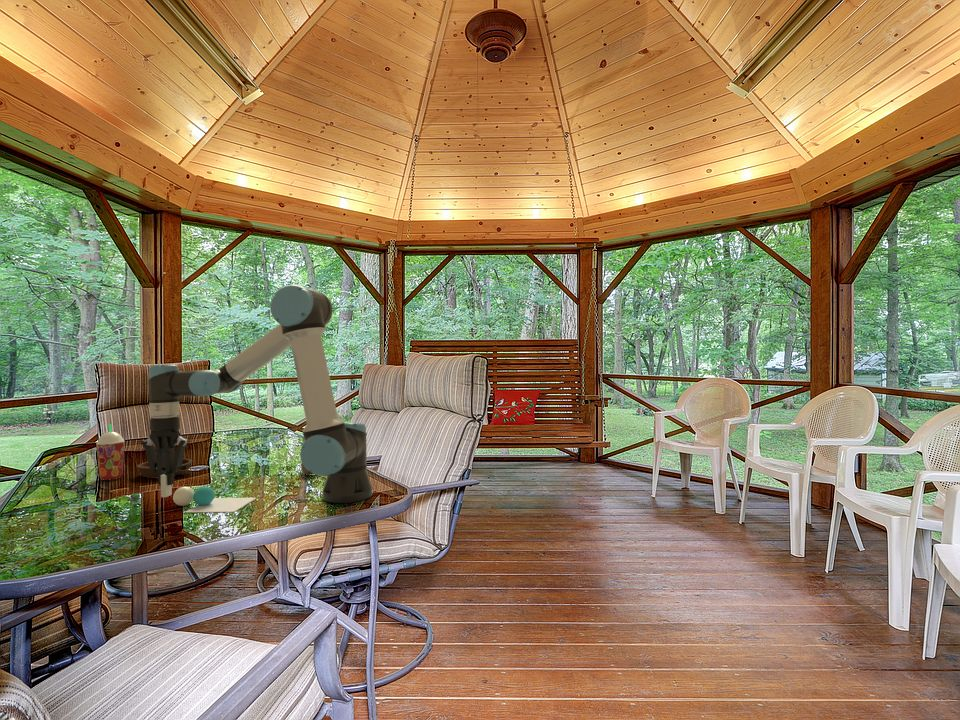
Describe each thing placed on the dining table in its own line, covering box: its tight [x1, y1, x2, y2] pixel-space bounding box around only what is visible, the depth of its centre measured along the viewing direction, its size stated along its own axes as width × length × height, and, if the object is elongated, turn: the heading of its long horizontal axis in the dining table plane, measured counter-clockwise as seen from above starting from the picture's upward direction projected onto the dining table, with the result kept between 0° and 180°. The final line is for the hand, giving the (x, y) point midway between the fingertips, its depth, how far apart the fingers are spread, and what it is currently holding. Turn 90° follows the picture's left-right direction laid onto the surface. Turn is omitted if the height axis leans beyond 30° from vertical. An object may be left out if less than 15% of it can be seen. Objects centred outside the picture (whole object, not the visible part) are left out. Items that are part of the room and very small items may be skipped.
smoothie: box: [96, 424, 125, 480], centre depth 180 cm, size 8×8×20 cm
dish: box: [136, 458, 193, 478], centre depth 186 cm, size 18×22×5 cm
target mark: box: [184, 497, 258, 514], centre depth 146 cm, size 14×14×1 cm
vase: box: [300, 461, 313, 475], centre depth 184 cm, size 7×7×9 cm
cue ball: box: [172, 486, 195, 507], centre depth 146 cm, size 6×6×6 cm
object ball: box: [193, 485, 215, 506], centre depth 146 cm, size 6×6×6 cm
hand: (166, 495), depth 146 cm, fingers closed
